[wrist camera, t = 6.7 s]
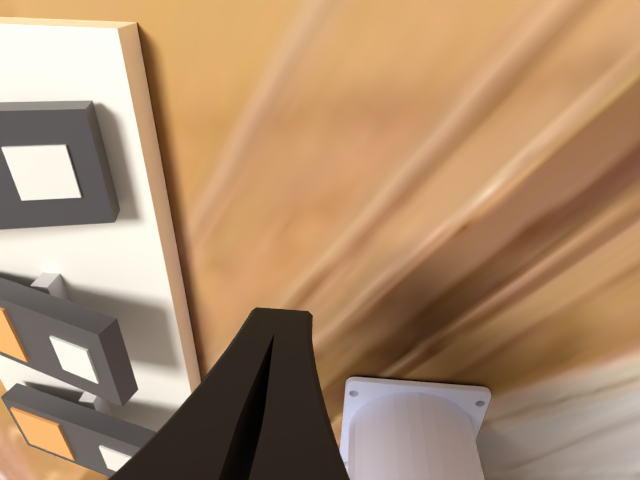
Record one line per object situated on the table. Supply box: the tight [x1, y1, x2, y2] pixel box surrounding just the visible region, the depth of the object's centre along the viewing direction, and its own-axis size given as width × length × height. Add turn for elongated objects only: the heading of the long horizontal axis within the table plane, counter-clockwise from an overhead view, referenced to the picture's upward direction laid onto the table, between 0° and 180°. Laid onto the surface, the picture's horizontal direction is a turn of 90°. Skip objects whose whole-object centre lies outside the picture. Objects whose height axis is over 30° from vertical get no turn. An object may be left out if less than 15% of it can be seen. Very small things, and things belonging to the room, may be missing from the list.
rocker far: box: [1, 383, 156, 477], centre depth 24 cm, size 4×9×1 cm, turn 89°
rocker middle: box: [0, 277, 138, 407], centre depth 20 cm, size 4×9×1 cm, turn 89°
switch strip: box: [0, 17, 201, 433], centre depth 22 cm, size 25×11×2 cm, turn 179°
